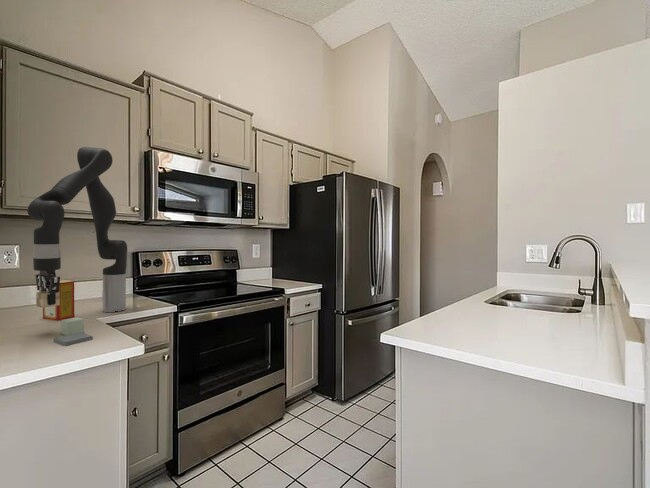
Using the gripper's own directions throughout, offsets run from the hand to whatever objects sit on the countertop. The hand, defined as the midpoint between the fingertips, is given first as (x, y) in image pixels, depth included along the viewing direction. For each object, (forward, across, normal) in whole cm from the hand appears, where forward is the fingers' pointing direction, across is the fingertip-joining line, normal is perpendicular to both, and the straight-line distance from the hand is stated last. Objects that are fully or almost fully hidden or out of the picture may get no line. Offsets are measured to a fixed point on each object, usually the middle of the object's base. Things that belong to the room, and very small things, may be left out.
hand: (48, 303), depth 118 cm
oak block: (+1, 0, 0) cm, 1 cm away
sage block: (+11, -7, -5) cm, 14 cm away
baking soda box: (+12, +22, -12) cm, 28 cm away
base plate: (+11, -17, -1) cm, 20 cm away
